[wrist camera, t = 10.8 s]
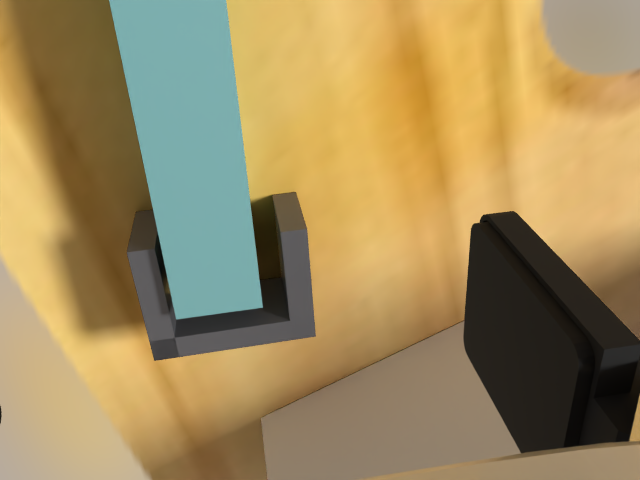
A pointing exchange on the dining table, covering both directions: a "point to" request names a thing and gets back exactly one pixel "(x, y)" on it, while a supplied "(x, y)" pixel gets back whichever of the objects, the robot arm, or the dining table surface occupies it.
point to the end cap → (232, 327)
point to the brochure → (390, 418)
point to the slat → (191, 149)
